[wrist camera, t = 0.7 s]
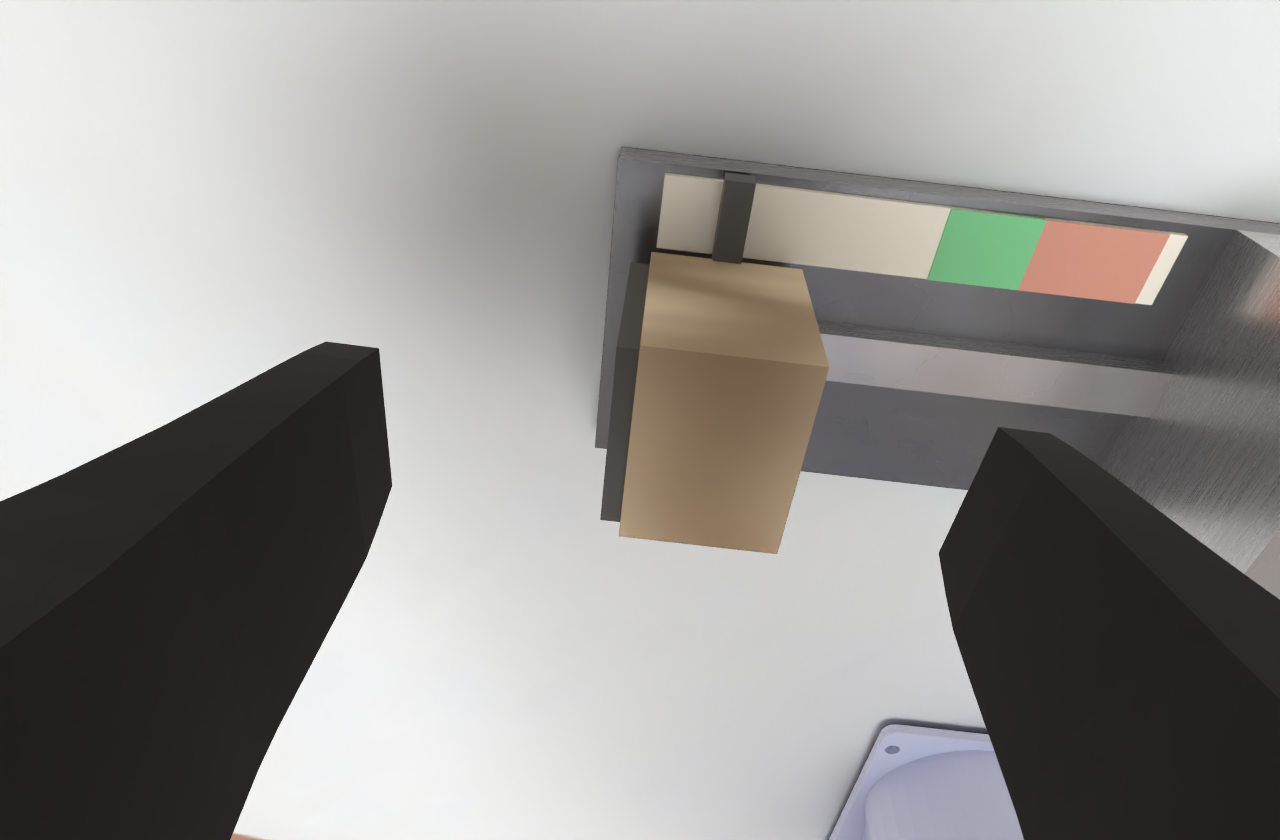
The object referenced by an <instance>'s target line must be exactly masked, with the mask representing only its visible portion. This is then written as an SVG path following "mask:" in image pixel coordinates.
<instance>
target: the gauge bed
mask: <svg viewBox="0 0 1280 840" xmlns="http://www.w3.org/2000/svg"><path fill="white" fill-rule="evenodd" d="M725 173H734V174H743V175H751V176H755V180H756V188H755V193H754V198H753V204H752V209H751V215H750V220H749V225H748V231H747V236H746V241H745V247H744V252H743V258H742V262H743V263H752V264H760V265H769V266H778V267H786V268H795V269H802V270H803V274H804V277H805V281H806V284H807V288H808V292H809V295H810V299H811V302H812V306H813V310H814V313H815V317H816V320H817V324H818V328H819V331H820V335H821V338H822V342H823V346H824V349H825V353H826V356H827V360H828V364H829V371H828V374H827V378H826V381H825V385H824V389H823V392H822V396H821V399H820V403H819V406H818V410H817V414H816V417H815V421H814V424H813V428H812V431H811V435H810V439H809V442H808V446H807V449H806V453H805V456H804V460H803V463H802V467H801V471H805V472H814V473H823V474H832V475H840V476H849V477H858V478H867V479H876V480H884V481H893V482H902V483H911V484H919V485H928V486H937V487H946V488H955V489H963V490H969V488H970V486H971V484H972V482H973V479H974V477H975V475H976V473H977V471H978V469H979V467H980V465H981V462H982V460H983V458H984V456H985V454H986V452H987V450H988V448H989V445H990V443H991V441H992V439H993V437H994V435H995V433H996V431H997V428H998V427H1003V428H1011V429H1019V430H1027V431H1035V432H1043V433H1050V434H1052V435H1054V436H1055V437H1057V438H1059V439H1060V440H1062V441H1064V442H1065V443H1067V444H1068V445H1070V446H1071V447H1073V448H1074V449H1076V450H1077V451H1079V452H1080V453H1082V454H1083V455H1085V456H1086V457H1088V458H1089V459H1090V460H1092V461H1093V462H1095V463H1096V464H1097V465H1099V466H1100V467H1101V468H1103V469H1104V470H1106V471H1107V472H1108V473H1110V474H1111V475H1112V476H1114V477H1115V478H1116V479H1118V480H1119V481H1120V482H1122V483H1123V484H1124V485H1126V486H1127V487H1128V488H1130V489H1131V490H1132V491H1134V492H1135V493H1136V494H1138V495H1139V496H1140V497H1142V498H1143V499H1144V500H1146V501H1147V502H1148V503H1150V504H1151V505H1152V506H1154V507H1155V508H1156V509H1158V510H1159V511H1160V512H1162V513H1163V514H1164V515H1166V516H1167V517H1168V518H1169V519H1171V520H1172V521H1173V522H1175V523H1176V524H1177V525H1179V526H1180V527H1181V528H1183V529H1184V530H1185V531H1187V532H1188V533H1189V534H1191V535H1192V536H1193V537H1195V538H1196V539H1197V540H1199V541H1200V542H1201V543H1203V544H1204V545H1205V546H1207V547H1208V548H1209V549H1211V550H1212V551H1213V552H1215V553H1216V554H1218V555H1219V556H1220V557H1222V558H1223V559H1224V560H1226V561H1227V562H1228V563H1230V564H1231V565H1232V566H1234V567H1235V568H1237V569H1238V570H1239V571H1241V572H1242V573H1244V574H1245V575H1246V576H1248V577H1249V578H1250V579H1252V580H1253V581H1255V582H1256V583H1257V584H1259V585H1260V586H1262V587H1263V588H1264V589H1266V590H1267V591H1268V592H1270V593H1271V594H1273V595H1274V596H1276V597H1277V598H1278V599H1280V224H1277V223H1268V222H1260V221H1251V220H1243V219H1234V218H1225V217H1217V216H1208V215H1200V214H1191V213H1183V212H1174V211H1166V210H1157V209H1149V208H1140V207H1131V206H1123V205H1114V204H1106V203H1097V202H1089V201H1080V200H1072V199H1063V198H1055V197H1046V196H1037V195H1029V194H1020V193H1012V192H1003V191H995V190H986V189H978V188H969V187H961V186H952V185H944V184H935V183H926V182H918V181H909V180H901V179H892V178H884V177H875V176H867V175H858V174H850V173H841V172H832V171H824V170H815V169H807V168H798V167H790V166H781V165H773V164H764V163H756V162H747V161H739V160H730V159H721V158H713V157H704V156H696V155H687V154H679V153H670V152H662V151H653V150H645V149H636V148H627V147H621V150H620V154H619V157H618V169H617V182H616V194H615V207H614V219H613V232H612V244H611V256H610V269H609V281H608V294H607V306H606V318H605V331H604V343H603V356H602V368H601V380H600V393H599V405H598V418H597V430H596V443H595V448H604V449H607V444H608V433H609V423H610V412H611V401H612V390H613V379H614V368H615V357H616V347H617V341H618V335H619V329H620V323H621V317H622V312H623V306H624V300H625V294H626V288H627V282H628V276H629V270H630V265H631V262H632V263H641V264H649V265H650V259H651V252H657V253H666V254H674V255H683V256H691V257H700V258H709V259H711V257H712V251H713V245H714V238H715V232H716V226H717V220H718V214H719V207H720V201H721V195H722V189H723V183H724V176H725Z"/></svg>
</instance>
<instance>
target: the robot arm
mask: <svg viewBox="0 0 1280 840" xmlns="http://www.w3.org/2000/svg"><path fill="white" fill-rule="evenodd" d="M391 487H392V479H391V469H390V458H389V448H388V438H387V428H386V417H385V407H384V397H383V386H382V376H381V366H380V355H379V348H372V347H364V346H356V345H348V344H340V343H332V342H324V343H322V344H320V345H317V346H315V347H313V348H310V349H308V350H306V351H304V352H302V353H300V354H298V355H296V356H294V357H292V358H290V359H288V360H286V361H285V362H283V363H281V364H279V365H277V366H275V367H273V368H271V369H269V370H268V371H266V372H264V373H262V374H260V375H258V376H256V377H255V378H253V379H251V380H249V381H247V382H245V383H243V384H242V385H240V386H238V387H236V388H234V389H232V390H230V391H228V392H227V393H225V394H223V395H221V396H219V397H217V398H215V399H213V400H211V401H210V402H208V403H206V404H204V405H202V406H200V407H198V408H196V409H194V410H193V411H191V412H189V413H187V414H185V415H183V416H181V417H179V418H177V419H176V420H174V421H172V422H170V423H168V424H166V425H164V426H162V427H160V428H158V429H156V430H154V431H152V432H150V433H148V434H145V435H143V436H141V437H139V438H137V439H135V440H133V441H131V442H129V443H127V444H125V445H123V446H121V447H119V448H116V449H114V450H112V451H110V452H108V453H106V454H104V455H102V456H100V457H98V458H96V459H94V460H92V461H90V462H87V463H85V464H83V465H81V466H79V467H77V468H75V469H73V470H71V471H69V472H67V473H65V474H63V475H60V476H58V477H56V478H54V479H51V480H49V481H47V482H45V483H42V484H40V485H38V486H36V487H33V488H31V489H29V490H26V491H24V492H22V493H19V494H17V495H15V496H12V497H10V498H8V499H5V500H3V501H1V502H0V840H230V838H231V836H232V834H233V831H234V829H235V826H236V824H237V821H238V819H239V816H240V814H241V811H242V809H243V806H244V804H245V801H246V799H247V796H248V794H249V791H250V789H251V786H252V784H253V782H254V779H255V777H256V774H257V772H258V769H259V767H260V765H261V763H262V761H263V758H264V756H265V754H266V752H267V750H268V748H269V746H270V744H271V741H272V739H273V737H274V735H275V733H276V731H277V729H278V727H279V725H280V723H281V721H282V719H283V717H284V715H285V713H286V711H287V709H288V708H289V706H290V704H291V702H292V700H293V698H294V696H295V694H296V692H297V690H298V689H299V687H300V685H301V683H302V681H303V679H304V677H305V675H306V673H307V671H308V669H309V668H310V666H311V664H312V662H313V660H314V658H315V656H316V654H317V652H318V650H319V649H320V647H321V645H322V643H323V641H324V639H325V637H326V635H327V633H328V631H329V629H330V628H331V626H332V624H333V622H334V620H335V618H336V616H337V614H338V612H339V610H340V608H341V606H342V604H343V603H344V601H345V599H346V597H347V595H348V593H349V591H350V589H351V587H352V585H353V583H354V581H355V579H356V577H357V575H358V573H359V571H360V569H361V567H362V565H363V563H364V561H365V559H366V557H367V555H368V552H369V549H370V547H371V544H372V541H373V538H374V536H375V533H376V530H377V528H378V525H379V522H380V519H381V516H382V513H383V511H384V508H385V505H386V502H387V499H388V496H389V493H390V490H391ZM939 557H940V563H941V569H942V575H943V581H944V587H945V592H946V598H947V602H948V607H949V612H950V617H951V622H952V626H953V631H954V634H955V637H956V640H957V643H958V646H959V649H960V652H961V655H962V658H963V661H964V664H965V667H966V670H967V673H968V676H969V679H970V682H971V685H972V688H973V691H974V694H975V697H976V700H977V703H978V705H979V708H980V711H981V714H982V717H983V720H984V723H985V726H986V728H987V731H988V734H980V733H971V732H962V731H953V730H944V729H935V728H926V727H917V726H908V725H899V724H892V725H888V726H886V727H884V728H883V729H882V730H881V732H880V734H879V736H878V738H877V740H876V742H875V744H874V746H873V748H872V750H871V753H870V755H869V757H868V759H867V761H866V763H865V765H864V767H863V769H862V771H861V773H860V776H859V778H858V780H857V782H856V784H855V786H854V788H853V790H852V792H851V794H850V797H849V799H848V801H847V803H846V805H845V807H844V809H843V811H842V813H841V815H840V817H839V820H838V822H837V824H836V826H835V828H834V830H833V832H832V834H831V836H830V838H829V840H1280V599H1278V598H1277V597H1276V596H1274V595H1273V594H1271V593H1270V592H1268V591H1267V590H1266V589H1264V588H1263V587H1262V586H1260V585H1259V584H1257V583H1256V582H1255V581H1253V580H1252V579H1250V578H1249V577H1248V576H1246V575H1245V574H1244V573H1242V572H1241V571H1239V570H1238V569H1237V568H1235V567H1234V566H1232V565H1231V564H1230V563H1228V562H1227V561H1226V560H1224V559H1223V558H1222V557H1220V556H1219V555H1218V554H1216V553H1215V552H1213V551H1212V550H1211V549H1209V548H1208V547H1207V546H1205V545H1204V544H1203V543H1201V542H1200V541H1199V540H1197V539H1196V538H1195V537H1193V536H1192V535H1191V534H1189V533H1188V532H1187V531H1185V530H1184V529H1183V528H1181V527H1180V526H1179V525H1177V524H1176V523H1175V522H1173V521H1172V520H1171V519H1169V518H1168V517H1167V516H1166V515H1164V514H1163V513H1162V512H1160V511H1159V510H1158V509H1156V508H1155V507H1154V506H1152V505H1151V504H1150V503H1148V502H1147V501H1146V500H1144V499H1143V498H1142V497H1140V496H1139V495H1138V494H1136V493H1135V492H1134V491H1132V490H1131V489H1130V488H1128V487H1127V486H1126V485H1124V484H1123V483H1122V482H1120V481H1119V480H1118V479H1116V478H1115V477H1114V476H1112V475H1111V474H1110V473H1108V472H1107V471H1106V470H1104V469H1103V468H1101V467H1100V466H1099V465H1097V464H1096V463H1095V462H1093V461H1092V460H1090V459H1089V458H1088V457H1086V456H1085V455H1083V454H1082V453H1080V452H1079V451H1077V450H1076V449H1074V448H1073V447H1071V446H1070V445H1068V444H1067V443H1065V442H1064V441H1062V440H1060V439H1059V438H1057V437H1055V436H1054V435H1052V434H1050V433H1043V432H1035V431H1027V430H1019V429H1011V428H1003V427H998V428H997V431H996V433H995V435H994V437H993V439H992V441H991V443H990V445H989V448H988V450H987V452H986V454H985V456H984V458H983V460H982V462H981V465H980V467H979V469H978V471H977V473H976V475H975V477H974V479H973V482H972V484H971V486H970V488H969V490H968V492H967V494H966V496H965V499H964V501H963V503H962V505H961V507H960V509H959V511H958V513H957V516H956V518H955V520H954V522H953V524H952V526H951V528H950V530H949V533H948V535H947V537H946V539H945V541H944V543H943V545H942V547H941V549H940V552H939Z"/></svg>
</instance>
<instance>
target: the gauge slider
mask: <svg viewBox="0 0 1280 840" xmlns="http://www.w3.org/2000/svg"><path fill="white" fill-rule="evenodd" d="M755 188H756V180H755V176H751V175H743V174H734V173H725V176H724V183H723V189H722V195H721V201H720V207H719V214H718V220H717V226H716V232H715V238H714V245H713V251H712V257H711V259H709V258H700V257H691V256H683V255H674V254H666V253H657V252H651V259H650V265H649V264H641V263H632V262H631V265H630V270H629V276H628V282H627V288H626V294H625V300H624V306H623V312H622V317H621V323H620V329H619V335H618V341H617V347H616V357H615V368H614V379H613V390H612V401H611V412H610V423H609V433H608V444H607V455H606V466H605V477H604V488H603V499H602V509H601V520H607V521H616V522H620V529H619V536H622V537H631V538H640V539H649V540H657V541H666V542H675V543H684V544H693V545H702V546H710V547H719V548H728V549H737V550H746V551H755V552H763V553H772V554H777V553H778V549H779V546H780V542H781V538H782V535H783V531H784V528H785V524H786V521H787V517H788V513H789V510H790V506H791V503H792V499H793V496H794V492H795V488H796V485H797V481H798V478H799V474H800V471H801V467H802V463H803V460H804V456H805V453H806V449H807V446H808V442H809V439H810V435H811V431H812V428H813V424H814V421H815V417H816V414H817V410H818V406H819V403H820V399H821V396H822V392H823V389H824V385H825V381H826V378H827V374H828V371H829V364H828V360H827V356H826V353H825V349H824V346H823V342H822V338H821V335H820V331H819V328H818V324H817V320H816V317H815V313H814V310H813V306H812V302H811V299H810V295H809V292H808V288H807V284H806V281H805V277H804V274H803V270H802V269H795V268H786V267H778V266H769V265H760V264H752V263H743V262H742V258H743V252H744V247H745V241H746V236H747V231H748V225H749V220H750V215H751V209H752V204H753V198H754V193H755Z"/></svg>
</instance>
